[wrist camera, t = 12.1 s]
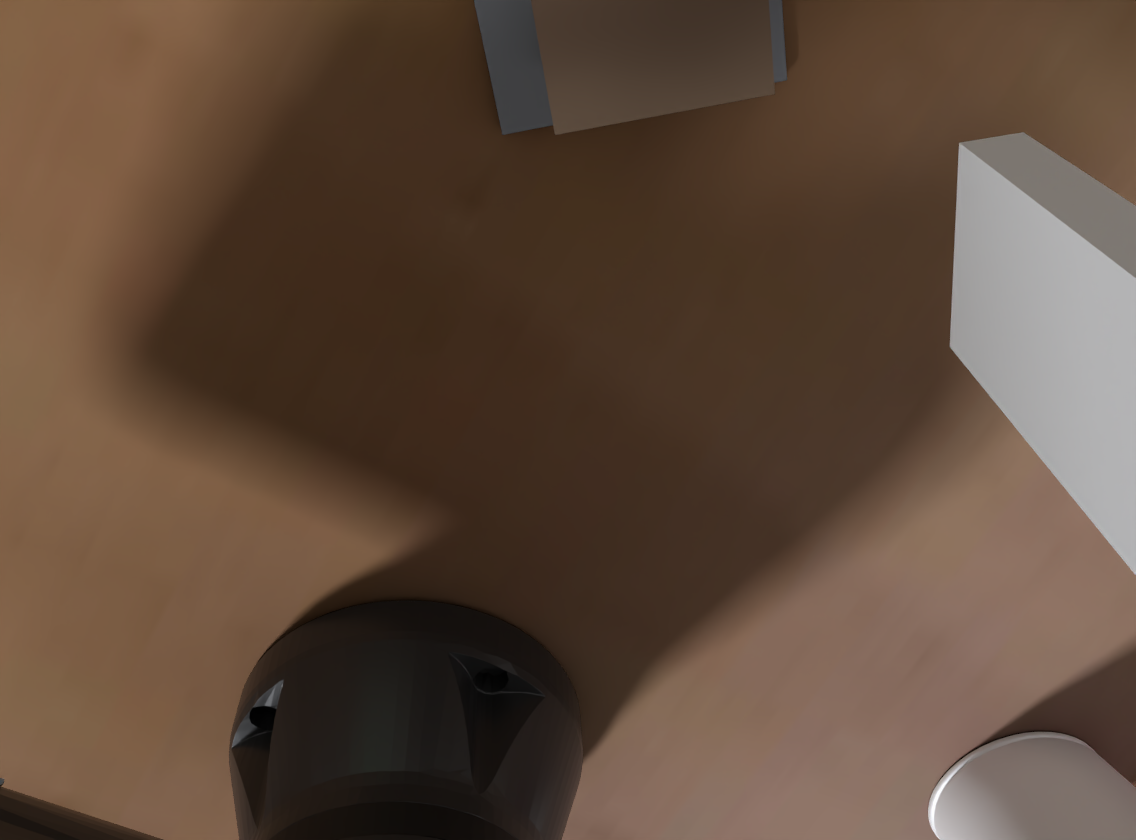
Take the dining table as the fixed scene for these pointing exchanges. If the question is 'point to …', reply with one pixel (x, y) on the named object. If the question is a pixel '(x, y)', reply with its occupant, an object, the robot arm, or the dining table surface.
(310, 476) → the dining table surface
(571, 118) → the walnut block
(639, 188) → the dining table surface
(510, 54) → the coaster
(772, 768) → the dining table surface
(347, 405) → the dining table surface
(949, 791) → the spray can
